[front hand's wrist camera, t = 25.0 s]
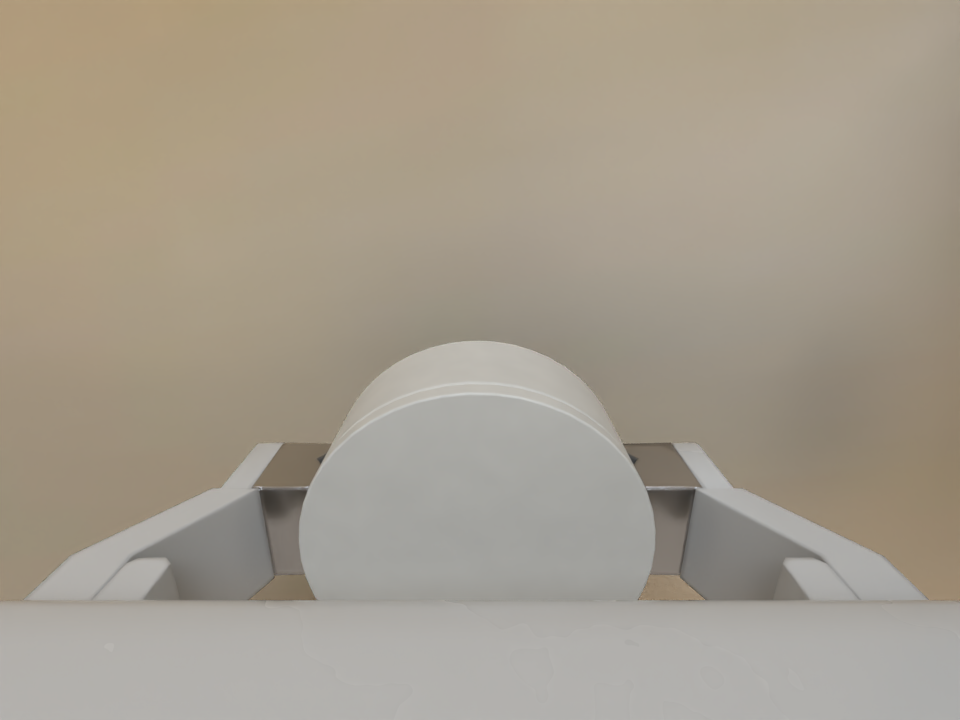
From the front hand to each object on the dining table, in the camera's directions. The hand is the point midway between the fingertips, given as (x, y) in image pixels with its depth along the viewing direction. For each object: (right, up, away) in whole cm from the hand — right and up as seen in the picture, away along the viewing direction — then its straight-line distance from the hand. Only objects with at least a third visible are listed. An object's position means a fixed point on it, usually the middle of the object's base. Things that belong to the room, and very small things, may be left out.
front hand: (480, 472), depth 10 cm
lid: (0, -1, -2) cm, 2 cm away
